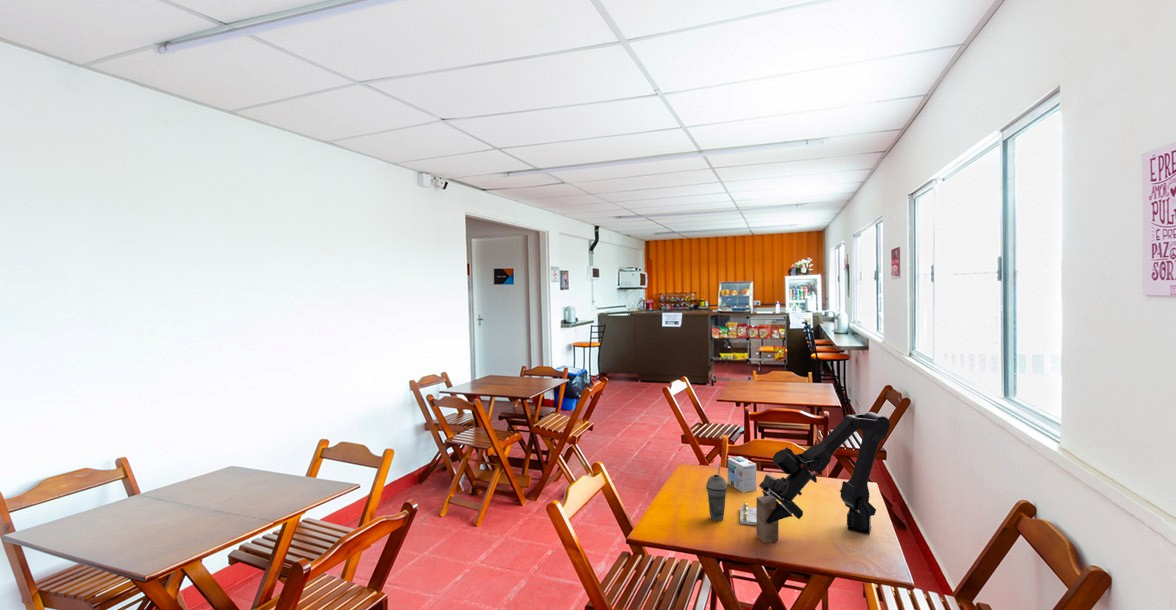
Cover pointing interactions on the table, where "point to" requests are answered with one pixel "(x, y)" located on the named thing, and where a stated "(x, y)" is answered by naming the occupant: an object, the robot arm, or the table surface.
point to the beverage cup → (716, 496)
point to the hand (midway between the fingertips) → (763, 518)
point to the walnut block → (763, 512)
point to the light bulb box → (742, 474)
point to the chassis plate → (748, 515)
